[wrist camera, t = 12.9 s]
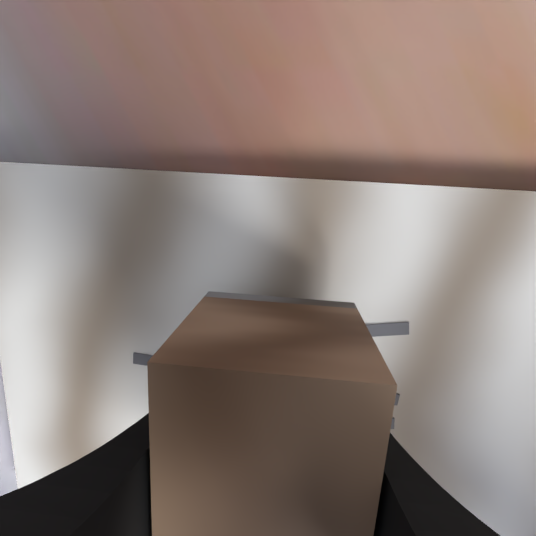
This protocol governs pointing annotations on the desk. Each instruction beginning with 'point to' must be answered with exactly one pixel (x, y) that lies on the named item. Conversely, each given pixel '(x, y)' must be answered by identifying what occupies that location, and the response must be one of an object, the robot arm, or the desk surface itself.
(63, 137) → the desk surface
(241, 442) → the block
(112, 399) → the board
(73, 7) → the desk surface
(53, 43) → the desk surface
